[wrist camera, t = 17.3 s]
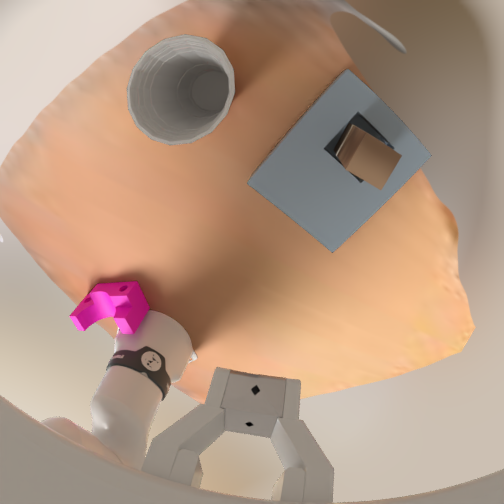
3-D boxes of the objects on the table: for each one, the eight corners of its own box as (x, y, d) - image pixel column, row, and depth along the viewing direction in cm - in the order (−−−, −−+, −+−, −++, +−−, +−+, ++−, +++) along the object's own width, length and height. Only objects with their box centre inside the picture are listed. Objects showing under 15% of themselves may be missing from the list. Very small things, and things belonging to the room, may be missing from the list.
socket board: (330, 238, 41) (332, 253, 37) (251, 174, 38) (246, 183, 34) (419, 149, 32) (431, 155, 29) (342, 71, 29) (347, 68, 26)
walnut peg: (361, 166, 34) (381, 191, 25) (332, 150, 34) (344, 170, 25) (376, 138, 32) (403, 155, 23) (348, 121, 31) (366, 131, 23)
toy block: (137, 280, 50) (118, 306, 44) (150, 307, 53) (134, 334, 47) (82, 284, 54) (63, 306, 47) (95, 307, 57) (78, 330, 50)
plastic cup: (242, 39, 29) (216, 16, 19) (264, 117, 34) (249, 127, 23) (163, 66, 32) (112, 61, 21) (185, 139, 36) (142, 159, 26)
